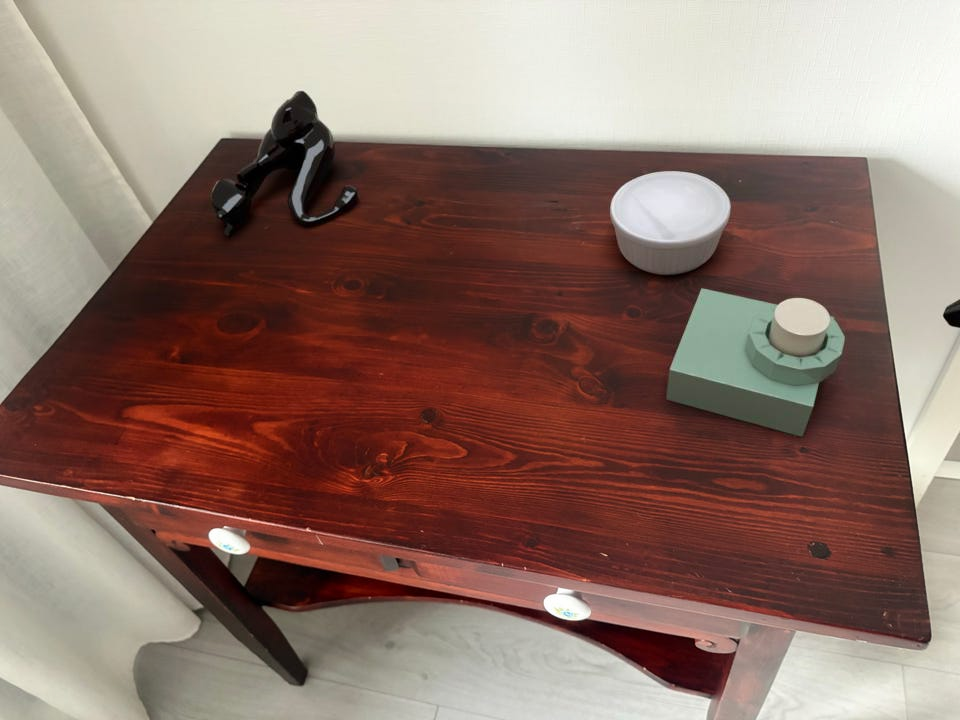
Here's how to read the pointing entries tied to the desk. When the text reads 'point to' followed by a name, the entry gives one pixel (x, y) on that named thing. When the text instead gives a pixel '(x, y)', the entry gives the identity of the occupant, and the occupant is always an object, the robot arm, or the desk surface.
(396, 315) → the desk surface
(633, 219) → the ramekin
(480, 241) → the desk surface
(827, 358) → the button base
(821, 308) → the cream cylindrical button
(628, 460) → the desk surface
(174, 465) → the desk surface
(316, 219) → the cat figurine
